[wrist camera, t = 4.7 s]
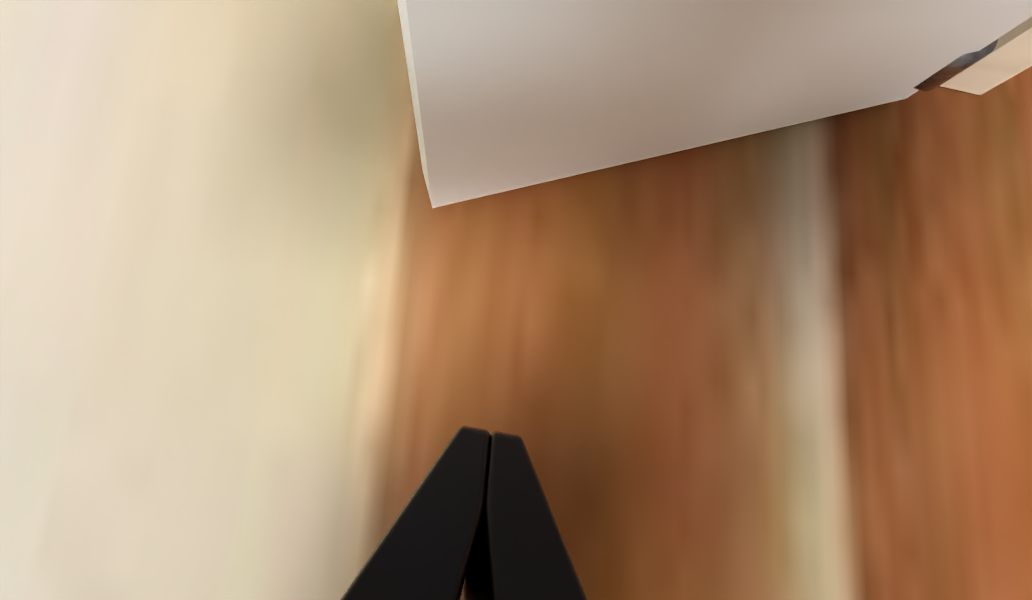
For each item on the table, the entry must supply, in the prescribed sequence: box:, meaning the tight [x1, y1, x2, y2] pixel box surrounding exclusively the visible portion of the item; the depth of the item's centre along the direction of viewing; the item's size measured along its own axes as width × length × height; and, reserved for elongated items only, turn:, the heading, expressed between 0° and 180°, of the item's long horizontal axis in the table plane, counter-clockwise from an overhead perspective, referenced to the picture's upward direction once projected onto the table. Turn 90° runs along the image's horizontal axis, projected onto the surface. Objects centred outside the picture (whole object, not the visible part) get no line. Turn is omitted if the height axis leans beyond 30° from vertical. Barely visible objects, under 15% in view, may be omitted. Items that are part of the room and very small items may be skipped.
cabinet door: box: [397, 0, 1032, 208], centre depth 15 cm, size 2×17×11 cm, turn 105°
